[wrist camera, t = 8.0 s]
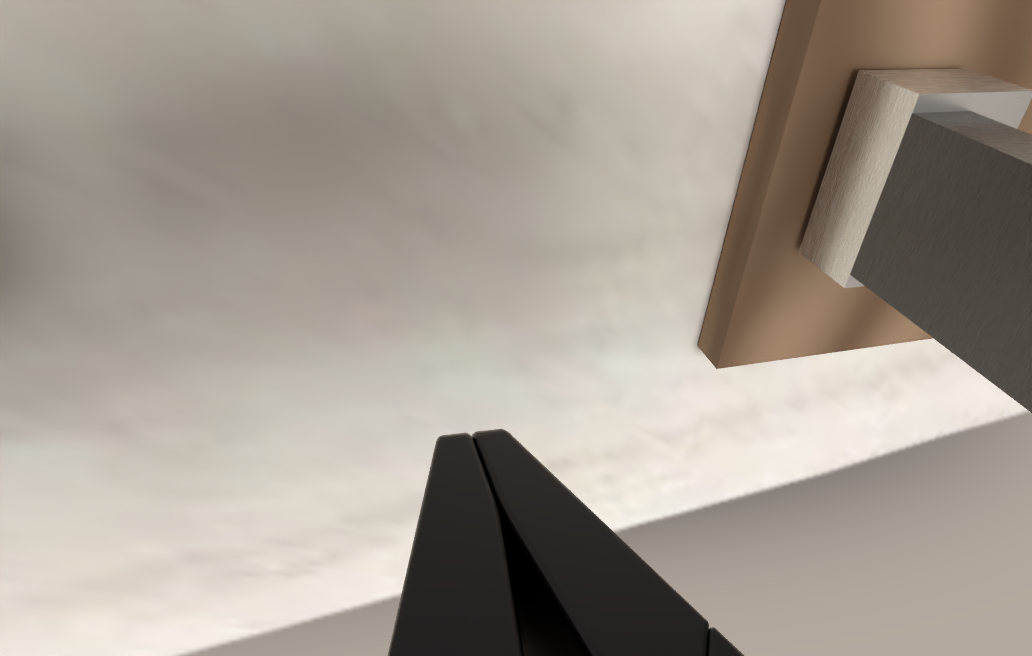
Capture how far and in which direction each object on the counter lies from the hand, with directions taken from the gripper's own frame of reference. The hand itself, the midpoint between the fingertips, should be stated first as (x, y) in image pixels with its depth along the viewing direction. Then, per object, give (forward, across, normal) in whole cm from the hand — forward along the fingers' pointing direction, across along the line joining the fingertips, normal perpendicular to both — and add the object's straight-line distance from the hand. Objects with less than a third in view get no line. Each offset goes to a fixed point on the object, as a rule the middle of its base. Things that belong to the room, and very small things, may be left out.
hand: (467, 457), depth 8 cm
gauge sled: (+12, -17, +2) cm, 20 cm away
